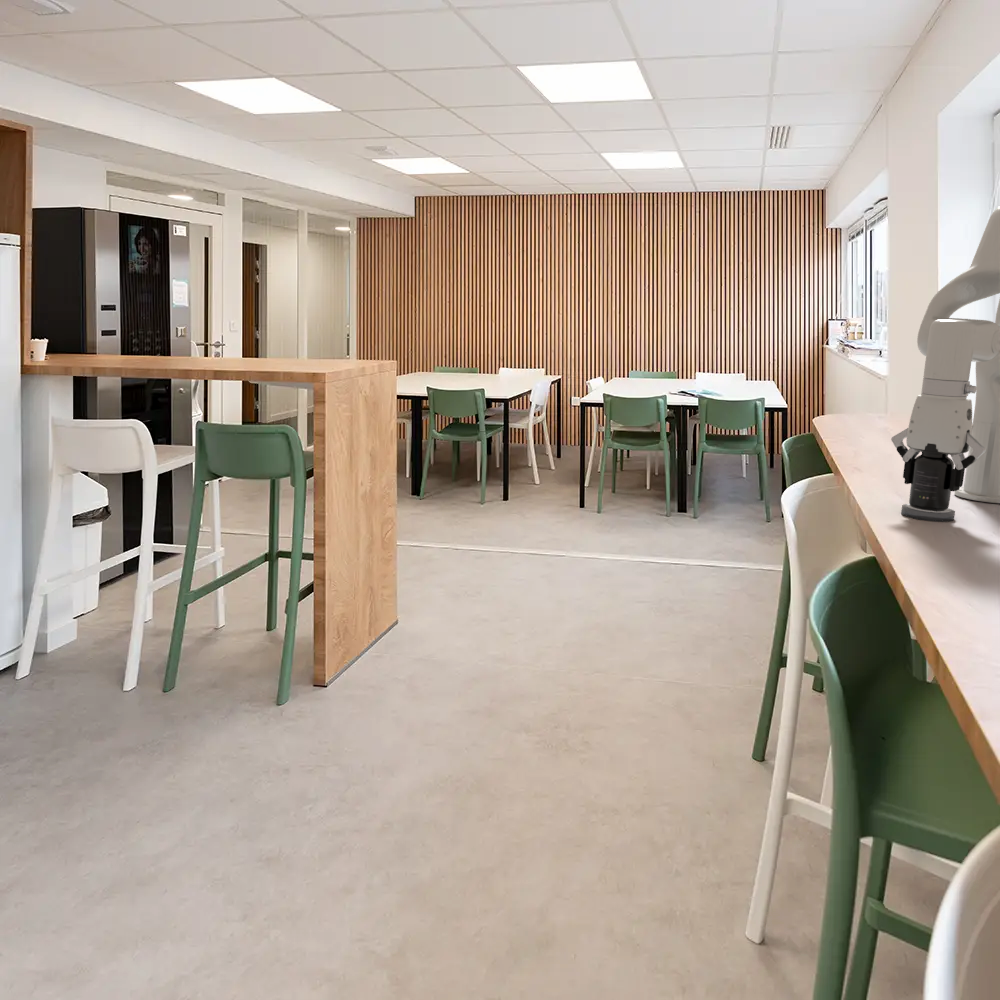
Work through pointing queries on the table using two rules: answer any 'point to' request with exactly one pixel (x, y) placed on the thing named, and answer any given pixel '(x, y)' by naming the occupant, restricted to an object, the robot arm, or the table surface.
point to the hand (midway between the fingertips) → (931, 486)
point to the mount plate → (928, 514)
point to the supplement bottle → (931, 480)
